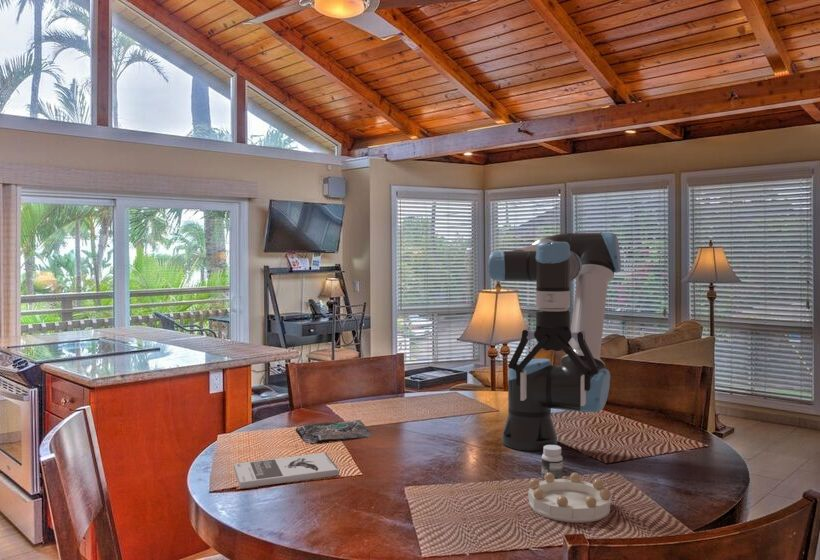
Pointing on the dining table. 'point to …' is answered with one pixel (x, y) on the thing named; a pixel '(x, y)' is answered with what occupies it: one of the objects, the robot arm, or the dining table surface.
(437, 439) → the dining table surface
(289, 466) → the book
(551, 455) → the pill bottle
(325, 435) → the terrain model
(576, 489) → the tray
